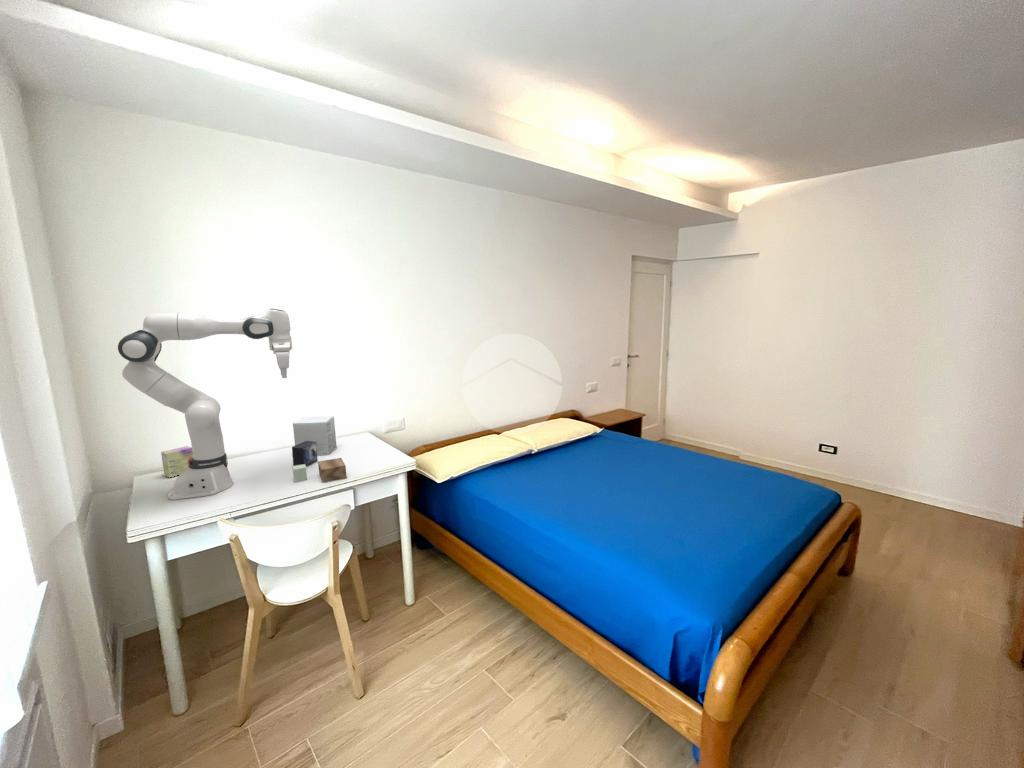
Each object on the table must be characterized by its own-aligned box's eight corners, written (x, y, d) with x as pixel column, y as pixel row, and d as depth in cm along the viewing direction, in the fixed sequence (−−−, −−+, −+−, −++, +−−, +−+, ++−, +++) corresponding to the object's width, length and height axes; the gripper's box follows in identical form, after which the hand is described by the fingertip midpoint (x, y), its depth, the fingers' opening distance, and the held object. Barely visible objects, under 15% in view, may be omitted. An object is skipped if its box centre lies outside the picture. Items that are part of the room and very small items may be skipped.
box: (190, 469, 205) (186, 445, 203) (195, 471, 202) (192, 447, 200) (164, 476, 196) (160, 451, 194) (169, 478, 193) (165, 453, 191)
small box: (304, 468, 204) (302, 447, 202) (292, 467, 205) (290, 447, 203) (318, 461, 214) (316, 441, 212) (307, 460, 215) (305, 440, 214)
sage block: (294, 482, 187) (293, 469, 186) (294, 478, 192) (292, 466, 191) (307, 480, 190) (306, 467, 189) (306, 476, 194) (304, 464, 193)
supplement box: (337, 447, 236) (334, 415, 233) (329, 455, 223) (326, 422, 219) (305, 448, 234) (302, 416, 231) (295, 456, 221) (291, 423, 218)
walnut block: (322, 482, 187) (321, 469, 186) (319, 473, 197) (318, 461, 196) (346, 478, 192) (345, 465, 191) (341, 469, 202) (340, 457, 201)
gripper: (272, 344, 195) (275, 374, 197) (273, 347, 177) (276, 380, 180) (287, 344, 198) (290, 373, 200) (290, 347, 180) (293, 379, 183)
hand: (284, 376), depth 190 cm, fingers open, 8 cm apart
